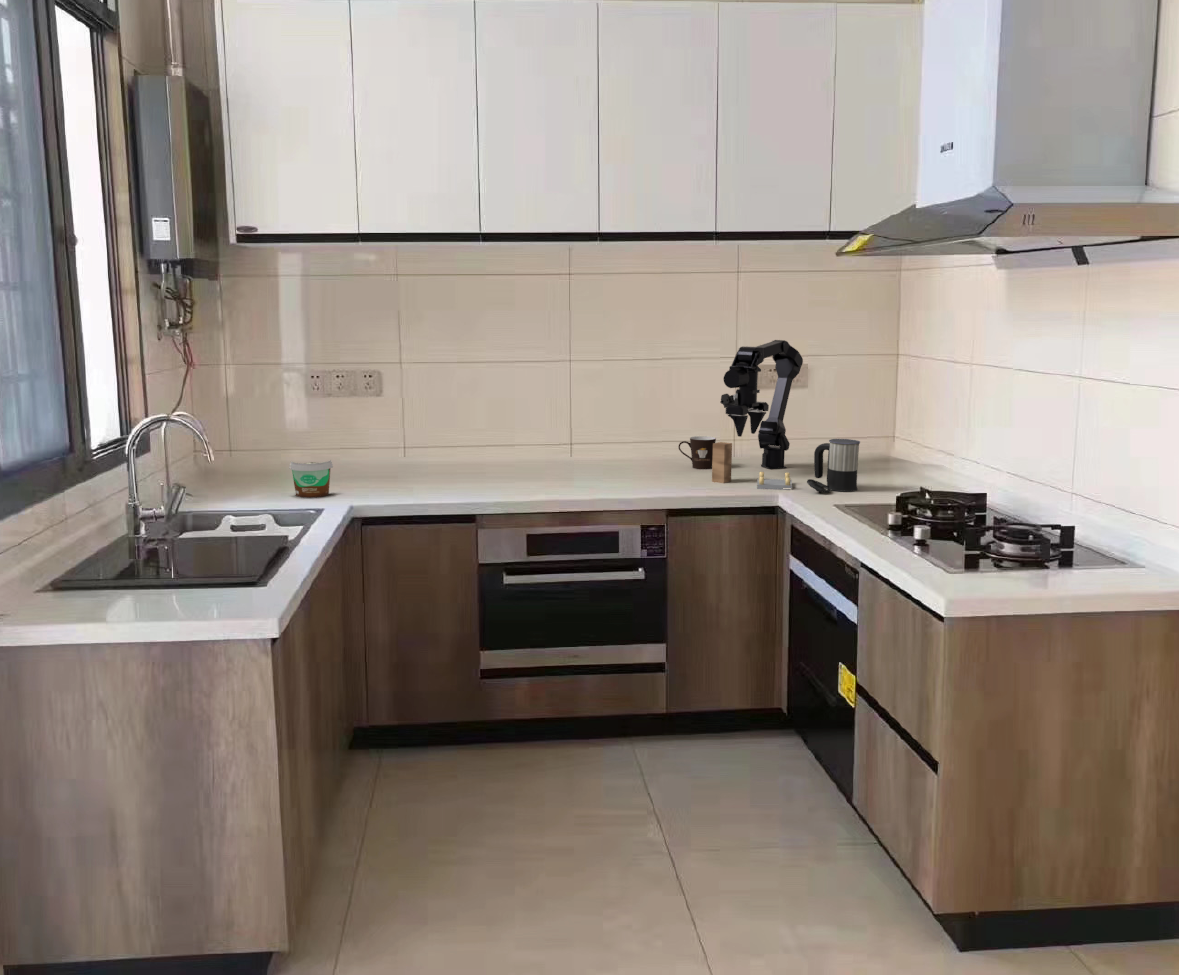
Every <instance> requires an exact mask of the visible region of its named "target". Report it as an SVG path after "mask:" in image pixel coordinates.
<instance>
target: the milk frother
mask: <svg viewBox="0 0 1179 975" xmlns="http://www.w3.org/2000/svg"><path fill="white" fill-rule="evenodd" d="M860 444H861V441H860V440H856V439H849V438H831V439H829V440H828V442H825V443H824V442H823V443H821V444H819V445H818V446H816V448H815V449H814V456H813V459H814V460H813V462H814V464H813V467H814V468H813V469H814V477H815V479H821V478H823V476H824V452H825V451H828V455H827V470H826V484H824V483H822V482H820V481H817V480H814V479H813V478H812V479H807V480H806V484H807V485H808V486H809V487H811V488H812V489H813V490H815V491H816V492H818V494H822V493H825V494H827V493H831V491H836V492H846V493H847V492H850V493H851V492H855V491H857V490H858V486H857V485H858V465H859V453H860V452H859V451H860Z"/></svg>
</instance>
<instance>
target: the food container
mask: <svg viewBox="0 0 1179 975" xmlns="http://www.w3.org/2000/svg"><path fill="white" fill-rule="evenodd" d="M333 467H334V464H333V461H332V459H330V460H327V461H324V462H323V461H322V462H312V461H311V462H310V461H309V462H304V463H301V462H300V463H299V462H293V461H290V463H289V469H290V470H291V472H292V479H293V486H294V491H295V492H294V494H295V496H296V497H298V498H307V499H309V498H310V499H311V498H313V499H314V498H321V497H326V496H329V495H330V494H329V493H330V483H331V481H330V480H331V469H332V468H333Z"/></svg>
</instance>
